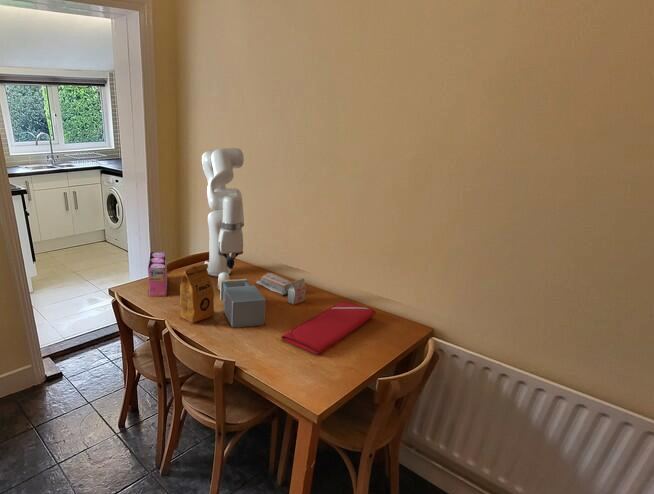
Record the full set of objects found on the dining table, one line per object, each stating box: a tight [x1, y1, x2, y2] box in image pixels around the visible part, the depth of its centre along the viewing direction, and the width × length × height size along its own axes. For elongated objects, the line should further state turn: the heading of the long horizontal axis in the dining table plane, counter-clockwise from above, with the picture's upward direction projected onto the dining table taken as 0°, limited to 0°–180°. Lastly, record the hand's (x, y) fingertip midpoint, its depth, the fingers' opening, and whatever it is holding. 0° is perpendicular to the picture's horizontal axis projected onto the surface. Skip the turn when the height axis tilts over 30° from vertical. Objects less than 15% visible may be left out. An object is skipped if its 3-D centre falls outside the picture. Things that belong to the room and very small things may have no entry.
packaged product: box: [255, 272, 292, 296], centre depth 190 cm, size 18×5×10 cm
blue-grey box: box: [223, 285, 267, 328], centre depth 161 cm, size 15×13×11 cm
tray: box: [219, 278, 250, 303], centre depth 173 cm, size 19×11×9 cm, turn 9°
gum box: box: [147, 251, 168, 297], centre depth 192 cm, size 24×8×14 cm, turn 2°
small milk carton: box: [287, 277, 307, 305], centre depth 175 cm, size 4×7×10 cm, turn 124°
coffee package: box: [179, 263, 215, 324], centre depth 160 cm, size 10×12×22 cm
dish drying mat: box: [281, 301, 377, 355], centre depth 154 cm, size 16×41×4 cm, turn 132°
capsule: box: [217, 272, 231, 291], centre depth 189 cm, size 5×5×8 cm
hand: (230, 267), depth 178 cm, fingers closed
